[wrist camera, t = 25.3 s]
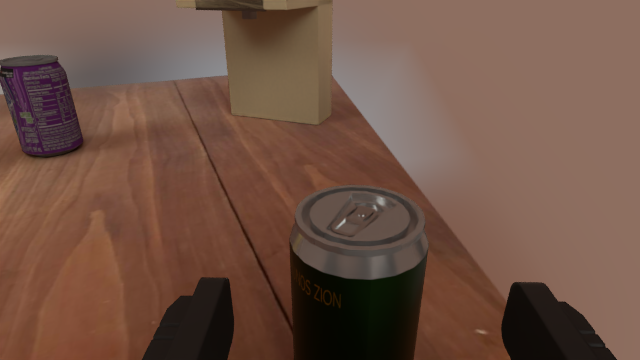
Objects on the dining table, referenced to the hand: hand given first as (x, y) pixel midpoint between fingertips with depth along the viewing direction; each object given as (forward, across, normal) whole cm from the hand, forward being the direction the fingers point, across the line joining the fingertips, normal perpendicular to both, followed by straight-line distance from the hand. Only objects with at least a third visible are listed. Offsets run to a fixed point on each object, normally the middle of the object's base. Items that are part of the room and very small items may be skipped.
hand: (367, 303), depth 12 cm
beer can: (+5, 0, +12) cm, 13 cm away
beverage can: (+43, +38, +12) cm, 58 cm away
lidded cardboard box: (+57, +10, +12) cm, 59 cm away
